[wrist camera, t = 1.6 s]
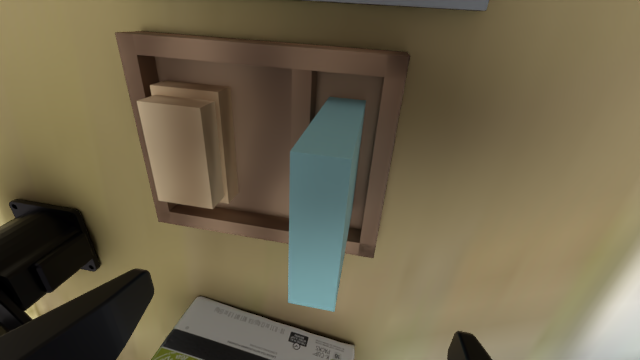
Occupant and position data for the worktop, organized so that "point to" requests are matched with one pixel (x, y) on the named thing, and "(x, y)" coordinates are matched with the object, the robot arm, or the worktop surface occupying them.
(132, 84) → the tray
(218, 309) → the tea box
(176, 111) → the offcut upper
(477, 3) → the mat
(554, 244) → the worktop surface
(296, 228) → the teal flat block
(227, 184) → the offcut lower
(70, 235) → the robot arm
